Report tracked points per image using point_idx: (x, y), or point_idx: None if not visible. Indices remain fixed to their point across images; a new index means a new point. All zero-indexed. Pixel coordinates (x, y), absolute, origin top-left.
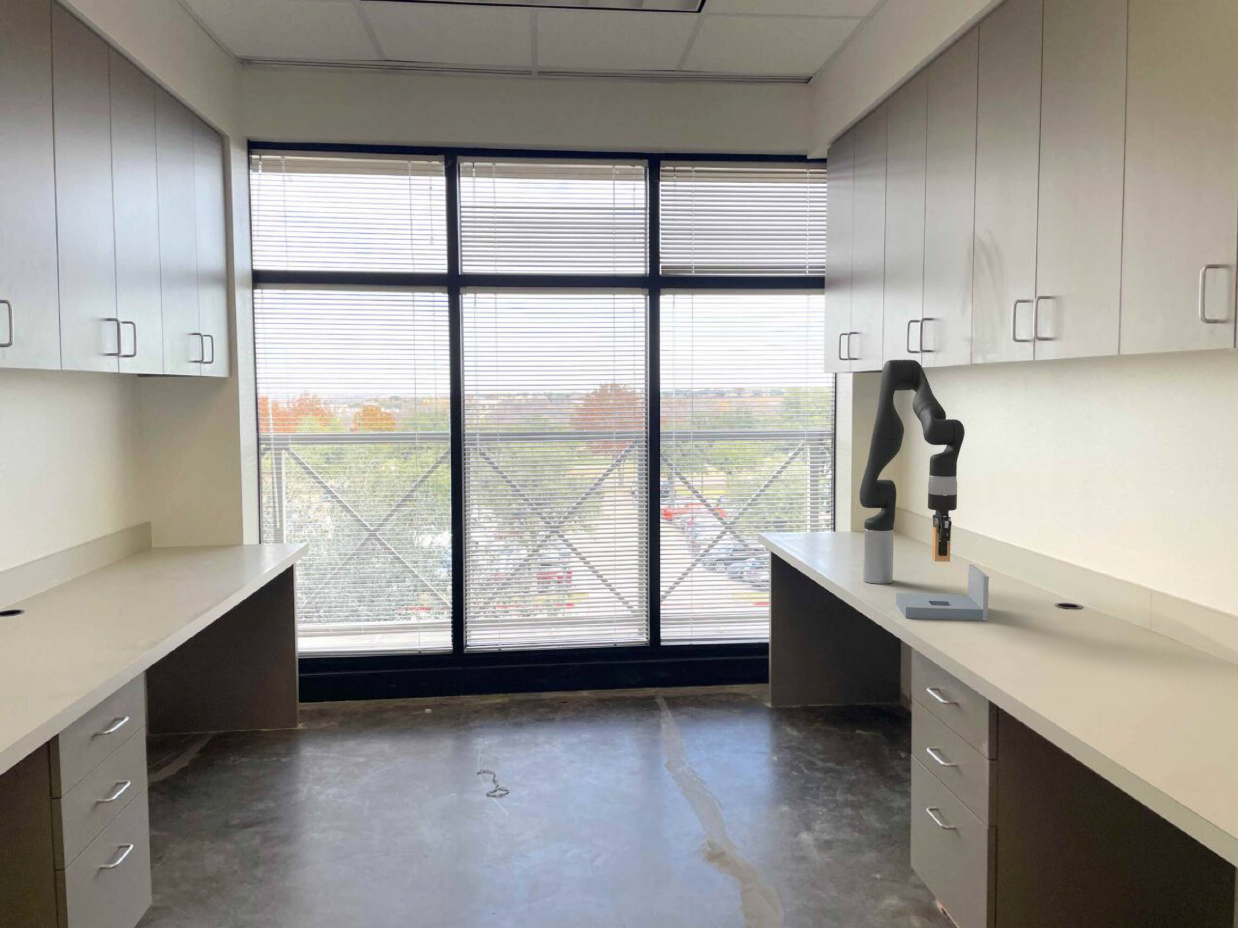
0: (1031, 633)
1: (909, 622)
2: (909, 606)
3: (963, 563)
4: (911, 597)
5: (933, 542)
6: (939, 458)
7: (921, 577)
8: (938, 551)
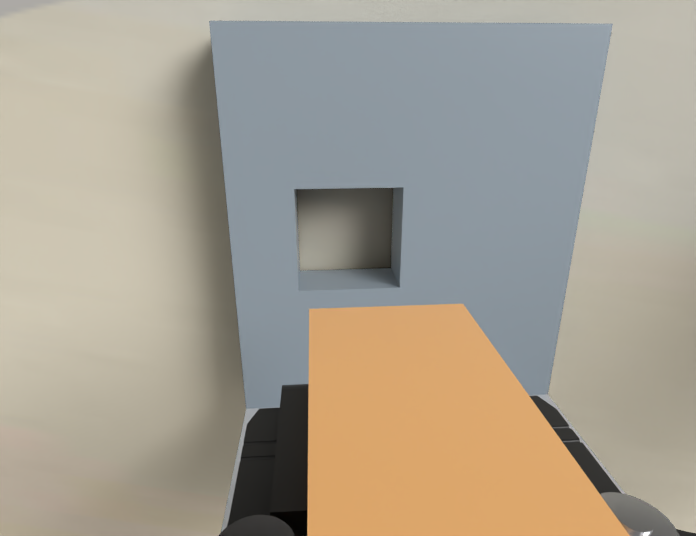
0: (98, 497)
1: (142, 38)
2: (235, 49)
3: None
4: (484, 104)
5: (465, 431)
6: None
7: None
8: (304, 405)
